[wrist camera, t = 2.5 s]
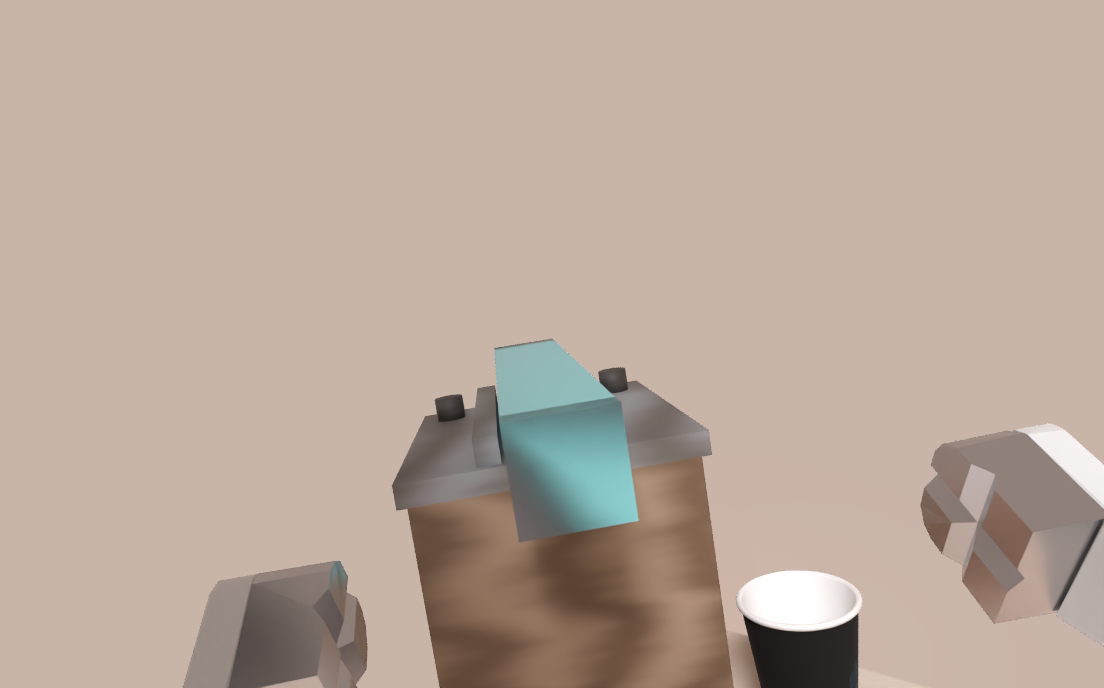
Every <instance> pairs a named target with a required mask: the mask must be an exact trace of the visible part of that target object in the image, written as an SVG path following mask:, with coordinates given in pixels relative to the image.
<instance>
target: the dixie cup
mask: <svg viewBox="0 0 1104 688" xmlns="http://www.w3.org/2000/svg"><path fill="white" fill-rule="evenodd" d="M736 604H737V607H738V609H739V610H740V612H741V613H742V614H743V616H744V620H745V625H746V629H747V633H748V637H749V641H750V645H751V649H752V653H753V657H754V661H755V665H756V669H757V673H758V677H759V681H760V685H761V688H858V612H859V611H860V610H861V607H862V596H861V594H860V592H859V591H858V589H856V587H854V586H853V585H852V584H851V583H849V582H848V581H846V580H844V579H841V578H839V577H836V576H834V575H830V574H826V573H822V572H815V571H804V570H803V571H802V570H798V571H797V570H792V571H781V572H775V573H770V574H766V575H763V576H760V577H757V578H755V579H753V580H751V581H749V582H748V583H746V584H745V585H744V586H743V587H742V588H741V589H740V590H739V592H738V593H737V596H736Z"/></svg>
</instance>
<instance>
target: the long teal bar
mask: <svg viewBox="0 0 1104 688" xmlns="http://www.w3.org/2000/svg"><path fill="white" fill-rule="evenodd" d="M495 364H496V378H497V379H496V380H497V395H498V411H499V425H500V431H501V437H502V443H503V449H504V455H505V461H506V467H507V473H508V479H509V485H510V491H511V497H512V503H513V509H514V515H515V521H516V527H517V533H518V539H519V543H520V542H526V541H531V540H537V539H542V538H547V537H553V536H558V535H564V534H569V533H575V532H580V531H586V530H591V529H597V528H602V527H608V526H613V525H618V524H624V523H629V522H635V521H639V519H638V513H637V506H636V499H635V492H634V486H633V479H632V472H631V465H630V459H629V452H628V445H627V438H626V432H625V425H624V418H623V411H622V404H621V402H620V401H619V400H618V399H617V398H616V397H615V396H614V395H612V394H611V393H610V392H609V391H608V390H607V389H606V388H605V387H604V386H603V385H602V384H601V383H600V382H598V381H597V380H596V379H595V378H594V377H593V376H592V375H591V374H590V373H589V372H587V371H586V369H584V368H583V367H582V366H581V365H580V364H579V363H578V362H577V361H576V360H575V359H573V357H571V356H570V355H569V354H568V353H567V352H566V351H565V350H564V349H563V348H562V347H561V346H560V345H559V344H557V343H556V342H555V341H554V340H553V339H548V340H542V341H536V342H529V343H523V344H517V345H511V346H505V347H499V348H495Z"/></svg>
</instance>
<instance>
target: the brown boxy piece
mask: <svg viewBox="0 0 1104 688" xmlns="http://www.w3.org/2000/svg"><path fill="white" fill-rule="evenodd" d="M598 373H599V380H600V383H601V384H602V385H603V386H604V387H605V388H606V389H607V390H608V391H609V392H610V393H611V394H612V395H614V396H615V397H616V398H617V399H618V400H619V401H620V402H621V404H622V411H623V418H624V425H625V432H626V438H627V445H628V452H629V459H630V465H631V472H632V479H633V486H634V492H635V499H636V506H637V513H638V519H639V521H635V522H629V523H624V524H618V525H613V526H608V527H602V528H597V529H591V530H586V531H580V532H575V533H569V534H564V535H558V536H553V537H547V538H542V539H537V540H531V541H526V542H520V543H519V539H518V533H517V527H516V521H515V515H514V509H513V503H512V497H511V491H510V485H509V479H508V473H507V467H506V461H505V455H504V449H503V443H502V437H501V431H500V425H499V411H498V402H497V396H496V390H495V386H489V387H483V388H478V389H477V397H476V406H475V408H472V409H465V410H464V404H463V398H462V395H449V396H444V397H440V398H437V399H435V404H436V409H437V414H436V415H430V416H425V418H424V420H423V422H422V424H421V426H420V428H419V430H418V433H417V435H416V437H415V439H414V441H413V443H412V445H411V447H410V449H409V451H408V453H407V456H406V458H405V460H404V462H403V464H402V466H401V468H400V470H399V472H398V474H397V476H396V478H395V480H394V482H393V485H392V488H393V493H394V499H395V505H396V510H403V509H408V515H409V520H410V526H411V531H412V537H413V541H414V547H415V553H416V558H417V564H418V570H419V574H420V581H421V586H422V592H423V597H424V603H425V608H426V614H427V619H428V625H429V630H430V636H431V641H432V647H433V653H434V658H435V664H436V669H437V674H438V680H439V686H440V688H734V687H733V679H732V672H731V665H730V658H729V650H728V643H727V636H726V629H725V622H724V614H723V607H722V600H721V592H720V585H719V578H718V570H717V563H716V556H715V549H714V541H713V534H712V527H711V520H710V513H709V505H708V499H707V491H706V483H705V477H704V469H703V462H702V456H707V455H712V452H711V444H710V436H709V430H708V429H706V428H705V427H703V426H702V425H700V424H699V423H697V422H696V421H695V420H693V419H692V418H690V417H689V416H687V415H686V414H684V413H683V412H681V411H680V410H678V409H677V408H675V407H674V406H673V405H671V404H670V403H668V402H666V401H665V400H664V399H662V398H661V397H659V396H658V395H657V394H655V393H653V392H652V391H651V390H649V389H648V388H646V387H645V386H643V385H642V384H640V383H639V382H637V381H631V382H627V379H626V372H625V368H610V369H606V370H602V371H599V372H598Z"/></svg>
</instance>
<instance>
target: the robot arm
mask: <svg viewBox="0 0 1104 688" xmlns="http://www.w3.org/2000/svg"><path fill="white" fill-rule="evenodd" d="M931 466H932V467H933V468H934V469H935V471H936V472H937V473H938V475H937V476H936V477H935V478H934V479H933V480H932V481H931V482H930V483H929V484H928V485H927V486H926V487H925V488H924V492H923V496H922V501H921V510H922V515H923V520H924V525H925V527H926V529H927V531H928V533H929V535H930V537H931V539H932V541H933V542H934V543H935V545H936V546H937V548H938V549H939V551H941V553H942V554H943V555H945V556H947V557H949V558H951V559H953V560H954V561H956V562H958V563H960V564H961V565H963V573H962V582H963V583H964V584H965V586H966V587H967V588H968V590H969V591H970V592H971V594H972V595H973V596H974V598H975V599H976V600H977V602H978V603H979V604H980V606H981V607H982V608H983V610H984V611H985V612H986V614H987V615H988V616H989V617H990V619H991V620H992V622H993V623H1000V622H1006V621H1011V620H1017V619H1023V618H1028V617H1033V616H1039V615H1045V614H1050V613H1056V612H1058V613H1057V615H1056V616H1057V617H1058V618H1060V619H1061V620H1063V621H1065V622H1066V623H1068V624H1069V625H1071V626H1072V627H1074V628H1075V629H1077V630H1078V631H1080V632H1081V633H1083V634H1085V635H1086V636H1088V637H1089V638H1091V639H1093V640H1094V641H1095V642H1097V643H1099V644H1100V645H1102V646H1103V647H1104V465H1103V464H1102V463H1101V462H1100V461H1099V460H1098V459H1096V458H1095V457H1094V456H1093V455H1092V454H1091V453H1090V452H1089V451H1087V450H1086V449H1085V448H1084V447H1083V446H1082V445H1081V444H1080V443H1079V442H1077V441H1076V440H1075V439H1074V438H1073V437H1072V436H1071V435H1070V434H1068V433H1067V432H1066V431H1065V430H1064V429H1062V428H1061V427H1058V426H1056V425H1054V424H1051V423H1049V424H1043V425H1038V426H1033V427H1028V428H1023V429H1018V430H1013V431H1004V432H999V433H995V434H989V435H985V436H980V437H975V438H970V439H966V440H960V441H955V442H951V443H945V444H942V445H941V446H940V447H939V448H938V449H937V450H936V451H935V453H934V456H933V459H932V463H931ZM347 581H348V576H347V574H346V572H345V570H344V568H343V566H342V564H341V562H340V561H333V562H327V563H320V564H314V565H308V566H302V567H297V568H290V569H284V570H278V571H272V572H266V573H259V574H256V575H250V576H244V577H238V578H233V579H227V580H221V581H218V583H217V584H216V586H215V587H214V588H213V590H212V591H211V593H210V595H209V598H208V602H207V605H206V609H205V612H204V616H203V619H202V623H201V626H200V630H199V634H198V637H197V640H196V644H195V648H194V651H193V654H192V658H191V661H190V665H189V669H188V672H187V675H186V679H185V682H184V686H183V688H357V687H356V683H357V682H358V681H359V679H360V677H361V676H362V675H363V673H364V672H365V671H366V667H367V637H366V625H365V621H364V617H363V612H362V609H361V606H360V604H359V602H358V599H357V598H356V597H354V596H352V595H350V594H348V593H347Z"/></svg>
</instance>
